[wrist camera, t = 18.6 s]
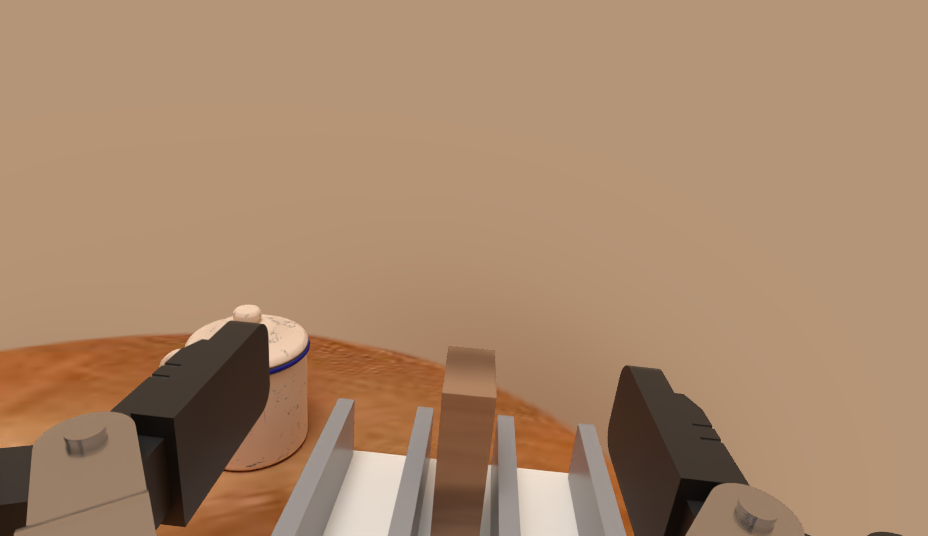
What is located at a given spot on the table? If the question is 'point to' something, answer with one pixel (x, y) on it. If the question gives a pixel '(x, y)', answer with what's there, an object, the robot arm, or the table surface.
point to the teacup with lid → (272, 390)
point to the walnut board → (464, 441)
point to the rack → (413, 479)
